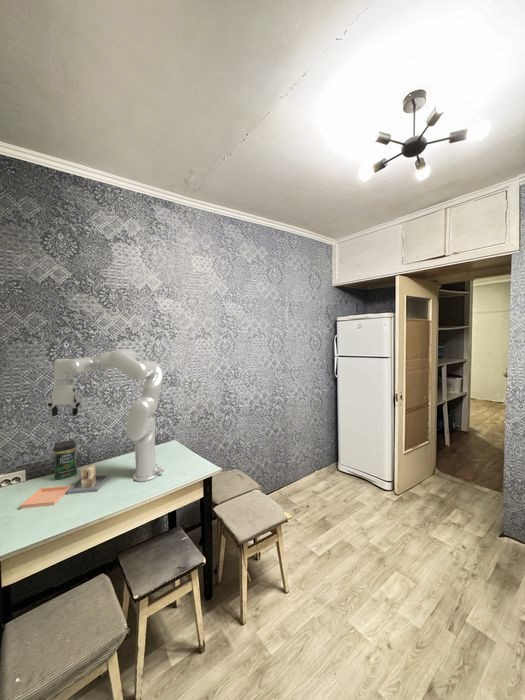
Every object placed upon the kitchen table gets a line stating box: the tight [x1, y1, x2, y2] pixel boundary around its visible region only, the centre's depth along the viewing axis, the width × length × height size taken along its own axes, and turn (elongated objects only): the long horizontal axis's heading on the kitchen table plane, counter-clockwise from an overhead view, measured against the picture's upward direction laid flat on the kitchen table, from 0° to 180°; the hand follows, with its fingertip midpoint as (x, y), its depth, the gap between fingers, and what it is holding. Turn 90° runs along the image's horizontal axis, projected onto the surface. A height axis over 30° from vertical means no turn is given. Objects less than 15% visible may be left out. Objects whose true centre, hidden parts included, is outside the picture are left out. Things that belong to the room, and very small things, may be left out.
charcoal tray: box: [66, 474, 110, 495], centre depth 134 cm, size 13×13×2 cm
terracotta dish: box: [19, 485, 72, 510], centre depth 124 cm, size 13×13×2 cm
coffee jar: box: [53, 439, 78, 481], centre depth 144 cm, size 10×8×19 cm
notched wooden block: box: [80, 464, 97, 488], centre depth 134 cm, size 4×5×9 cm
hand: (65, 415), depth 143 cm, fingers open, 9 cm apart
